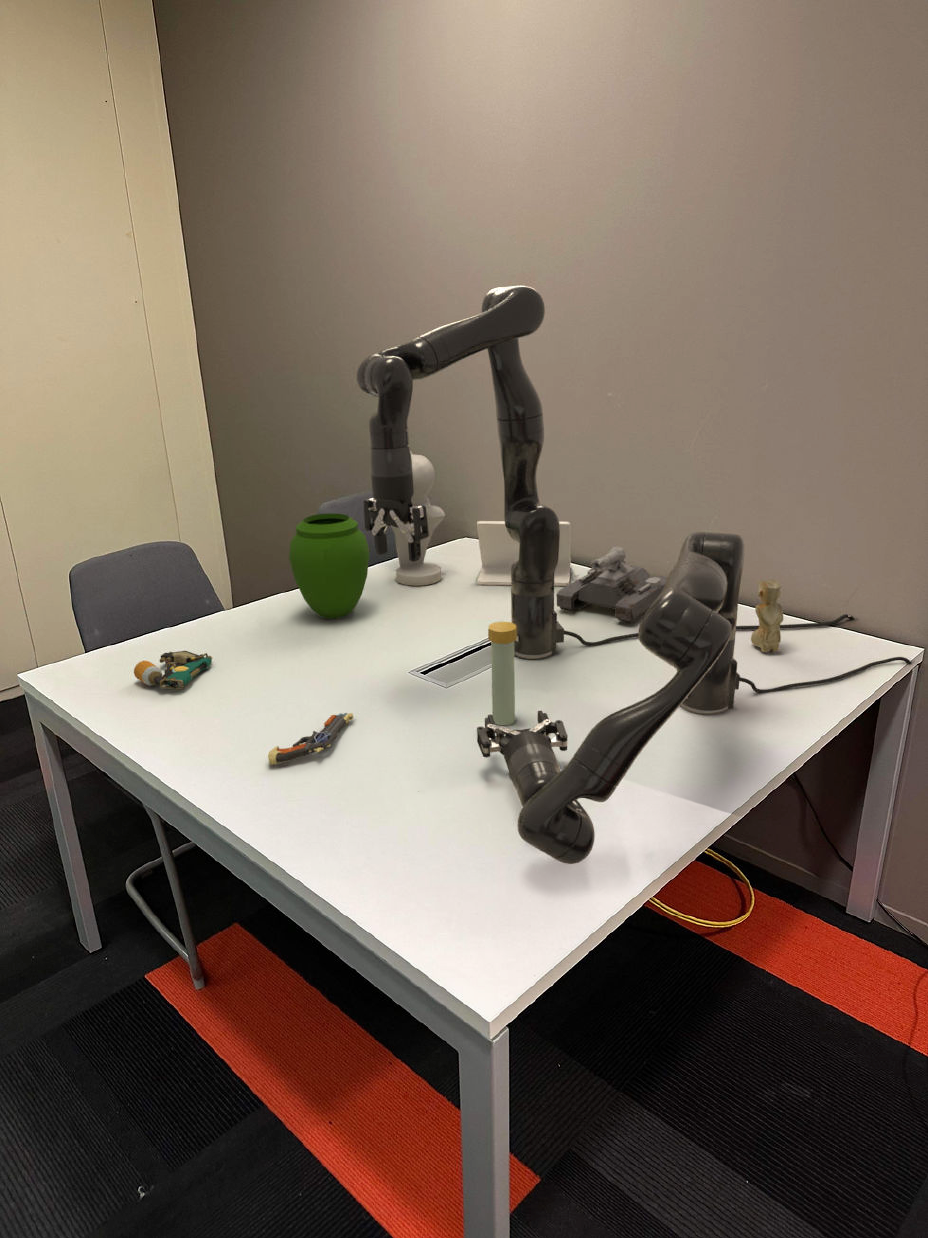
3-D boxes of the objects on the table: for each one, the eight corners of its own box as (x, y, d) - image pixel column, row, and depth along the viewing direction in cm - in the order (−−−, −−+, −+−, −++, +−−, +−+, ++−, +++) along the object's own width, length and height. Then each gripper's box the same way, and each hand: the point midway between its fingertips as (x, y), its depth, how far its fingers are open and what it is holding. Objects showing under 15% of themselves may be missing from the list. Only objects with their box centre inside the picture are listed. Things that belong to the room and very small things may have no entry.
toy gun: (262, 754, 143) (318, 752, 141) (303, 710, 161) (353, 708, 159) (266, 769, 144) (321, 767, 142) (306, 724, 162) (356, 721, 160)
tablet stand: (569, 585, 229) (570, 524, 223) (476, 584, 232) (475, 523, 226) (570, 566, 246) (571, 508, 240) (484, 564, 249) (483, 507, 243)
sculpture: (772, 641, 189) (778, 577, 184) (784, 654, 182) (792, 587, 177) (746, 642, 189) (752, 578, 183) (758, 655, 182) (764, 588, 177)
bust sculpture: (418, 559, 256) (413, 441, 244) (456, 580, 236) (452, 453, 224) (369, 568, 249) (360, 447, 237) (403, 590, 229) (396, 460, 217)
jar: (511, 713, 160) (510, 623, 154) (517, 723, 157) (517, 631, 150) (490, 716, 159) (488, 626, 153) (495, 726, 156) (494, 634, 149)
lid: (512, 632, 155) (512, 620, 154) (520, 642, 150) (520, 629, 150) (485, 635, 154) (484, 623, 153) (492, 645, 149) (492, 633, 149)
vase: (389, 608, 216) (383, 514, 208) (339, 633, 201) (330, 533, 192) (330, 596, 226) (322, 506, 218) (278, 619, 211) (267, 523, 202)
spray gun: (177, 659, 191) (231, 671, 185) (120, 684, 176) (176, 698, 171) (176, 641, 190) (230, 653, 184) (118, 665, 175) (174, 678, 169)
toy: (603, 584, 229) (605, 530, 224) (673, 597, 218) (677, 540, 213) (555, 612, 210) (556, 553, 205) (630, 627, 199) (633, 566, 194)
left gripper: (434, 470, 152) (439, 558, 158) (378, 463, 161) (385, 546, 167) (405, 478, 147) (412, 568, 153) (349, 471, 156) (357, 556, 161)
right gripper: (579, 740, 129) (555, 694, 144) (486, 748, 128) (472, 700, 143) (578, 783, 132) (555, 733, 147) (487, 791, 130) (473, 740, 146)
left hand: (398, 557), depth 160 cm, fingers open, 8 cm apart
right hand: (514, 717), depth 145 cm, fingers open, 8 cm apart
